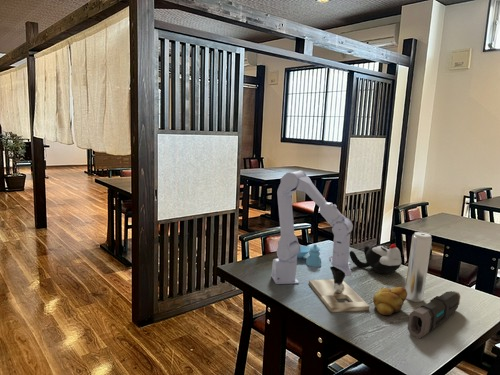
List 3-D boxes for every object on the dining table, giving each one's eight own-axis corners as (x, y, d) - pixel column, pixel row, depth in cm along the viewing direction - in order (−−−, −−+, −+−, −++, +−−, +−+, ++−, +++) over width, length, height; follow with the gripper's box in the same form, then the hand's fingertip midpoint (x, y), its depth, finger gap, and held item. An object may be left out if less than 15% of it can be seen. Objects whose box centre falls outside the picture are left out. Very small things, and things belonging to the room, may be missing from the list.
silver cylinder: (408, 292, 139) (416, 230, 135) (425, 298, 135) (435, 234, 130) (401, 297, 135) (409, 233, 130) (419, 304, 130) (428, 238, 126)
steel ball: (330, 282, 134) (332, 293, 133) (336, 283, 130) (337, 294, 129) (340, 281, 135) (341, 291, 134) (345, 282, 131) (347, 293, 130)
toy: (396, 255, 145) (356, 230, 158) (381, 288, 151) (344, 261, 164) (414, 248, 155) (375, 225, 168) (400, 279, 161) (363, 254, 174)
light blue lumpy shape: (283, 255, 172) (284, 237, 170) (299, 252, 178) (300, 234, 177) (310, 268, 158) (312, 249, 156) (326, 264, 164) (328, 245, 162)
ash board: (330, 312, 121) (331, 307, 121) (308, 283, 142) (309, 280, 142) (368, 310, 124) (369, 306, 124) (341, 282, 145) (341, 279, 145)
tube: (465, 322, 125) (428, 342, 105) (445, 318, 130) (406, 336, 110) (463, 290, 126) (426, 304, 106) (443, 288, 131) (404, 300, 111)
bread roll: (391, 321, 118) (394, 298, 116) (364, 309, 124) (366, 288, 123) (407, 308, 126) (410, 287, 125) (381, 298, 133) (383, 278, 132)
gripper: (360, 258, 125) (357, 294, 127) (342, 244, 139) (339, 277, 141) (341, 259, 124) (339, 296, 126) (325, 245, 138) (322, 278, 140)
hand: (338, 286), depth 134 cm, fingers closed, pressing on steel ball
